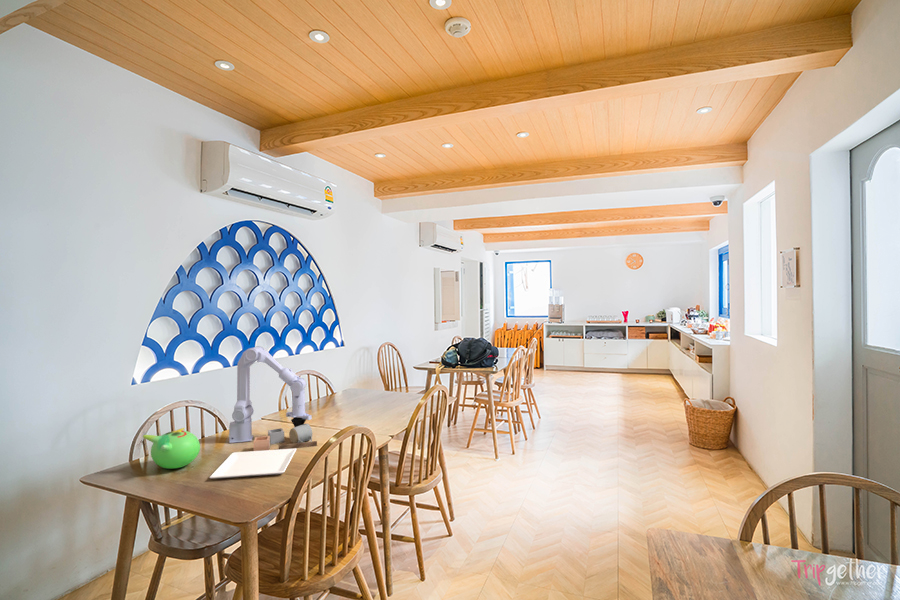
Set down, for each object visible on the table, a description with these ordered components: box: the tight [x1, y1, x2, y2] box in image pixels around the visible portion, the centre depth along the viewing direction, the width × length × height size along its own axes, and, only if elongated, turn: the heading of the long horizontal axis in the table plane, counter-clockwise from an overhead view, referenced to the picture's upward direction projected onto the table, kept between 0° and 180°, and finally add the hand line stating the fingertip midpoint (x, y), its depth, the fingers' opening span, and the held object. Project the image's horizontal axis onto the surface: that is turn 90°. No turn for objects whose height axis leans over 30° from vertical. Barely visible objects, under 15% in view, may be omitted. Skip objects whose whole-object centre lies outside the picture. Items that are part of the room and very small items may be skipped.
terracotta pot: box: [253, 435, 271, 451], centre depth 193 cm, size 6×6×5 cm
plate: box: [209, 448, 297, 479], centre depth 175 cm, size 26×26×2 cm
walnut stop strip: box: [278, 440, 318, 450], centre depth 195 cm, size 16×1×2 cm, turn 107°
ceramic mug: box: [288, 422, 313, 444], centre depth 202 cm, size 11×8×8 cm
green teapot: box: [142, 427, 201, 469], centre depth 174 cm, size 18×17×15 cm
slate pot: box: [267, 428, 285, 446], centre depth 204 cm, size 6×6×5 cm
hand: (298, 433), depth 208 cm, fingers closed
